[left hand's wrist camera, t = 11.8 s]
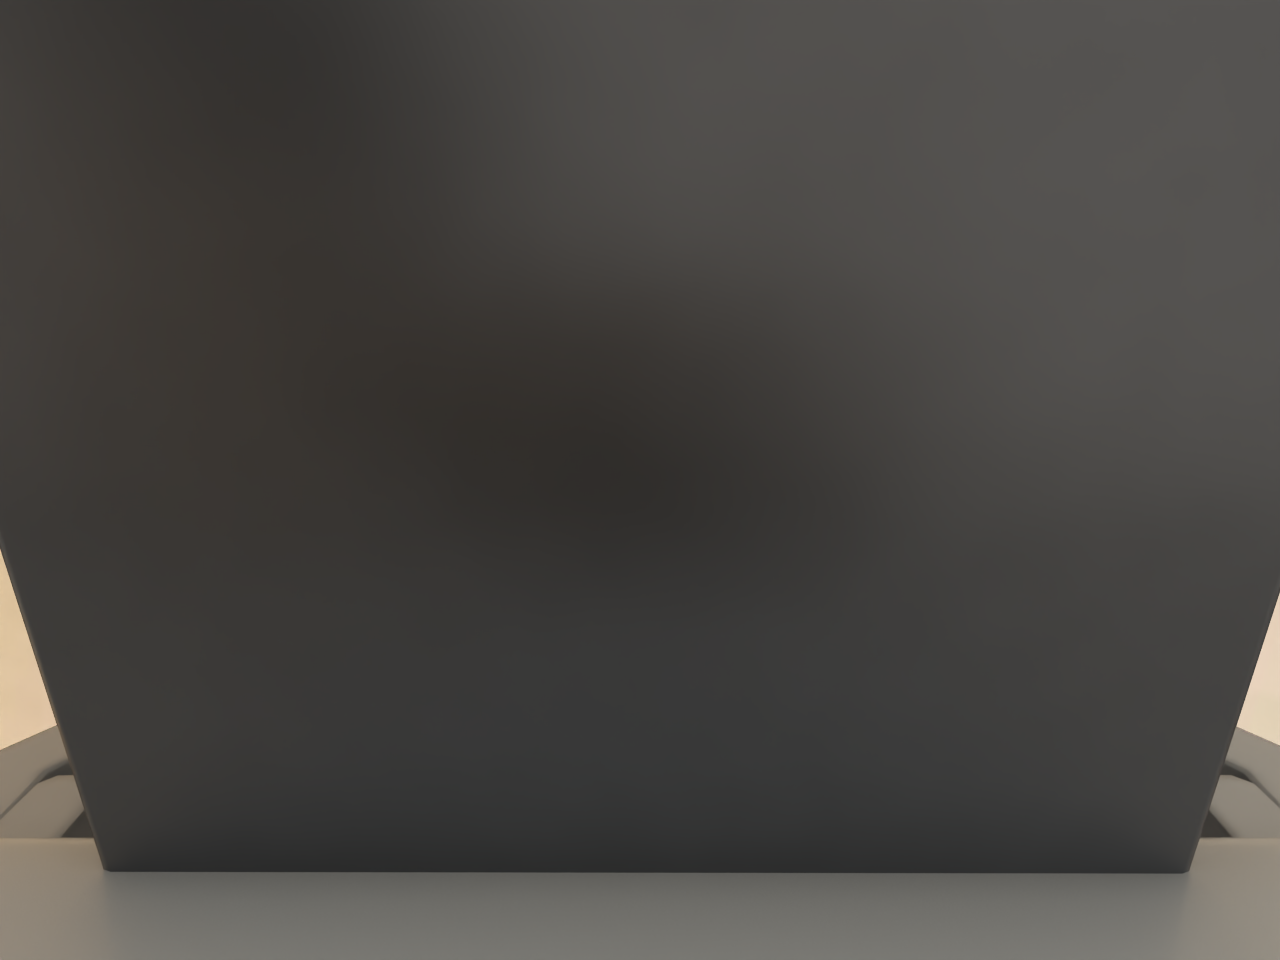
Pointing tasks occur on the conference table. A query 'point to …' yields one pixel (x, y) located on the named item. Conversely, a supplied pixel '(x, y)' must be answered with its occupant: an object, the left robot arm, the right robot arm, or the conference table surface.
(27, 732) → the conference table surface
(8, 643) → the conference table surface
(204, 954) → the left robot arm
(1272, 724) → the conference table surface
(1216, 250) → the box
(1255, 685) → the conference table surface
